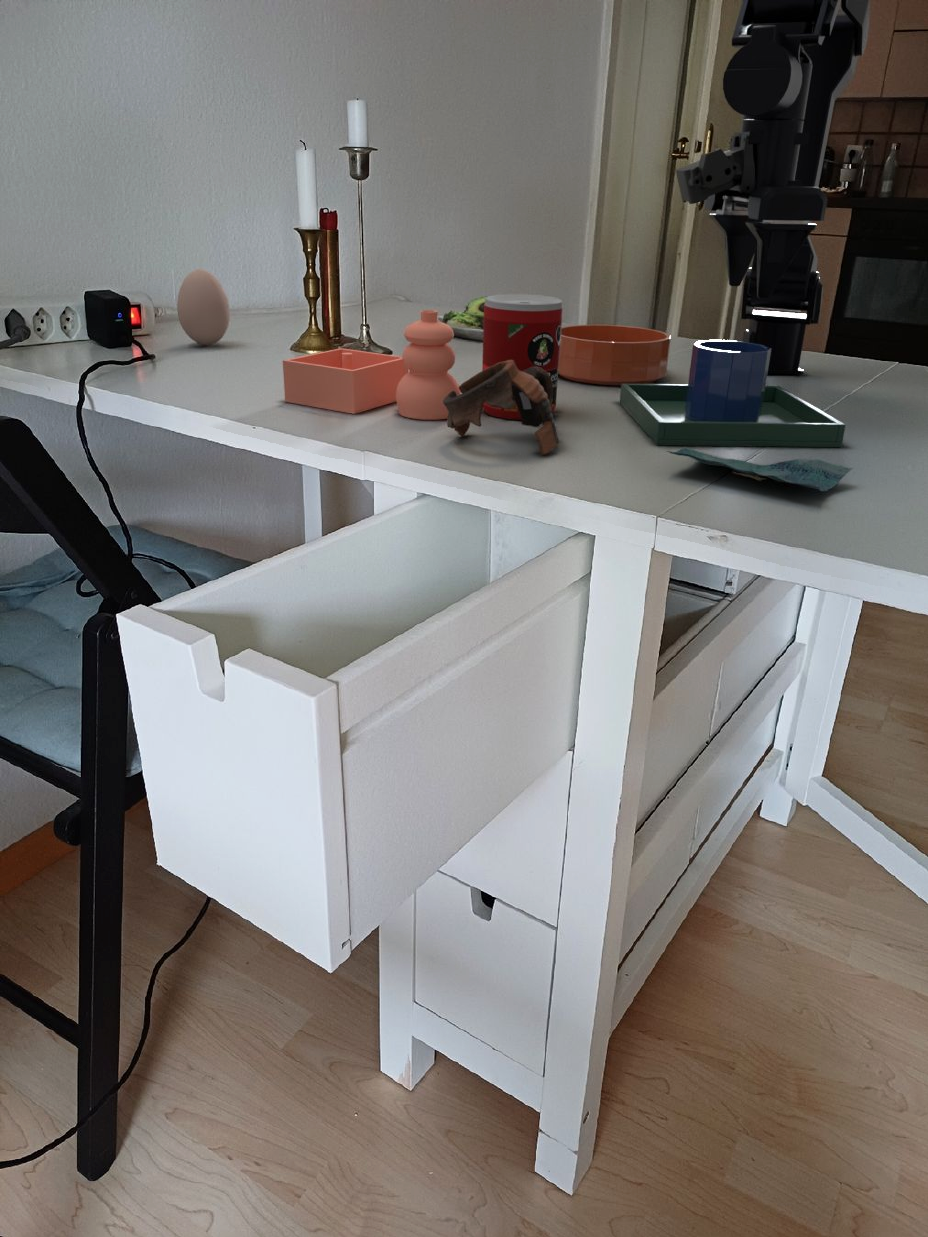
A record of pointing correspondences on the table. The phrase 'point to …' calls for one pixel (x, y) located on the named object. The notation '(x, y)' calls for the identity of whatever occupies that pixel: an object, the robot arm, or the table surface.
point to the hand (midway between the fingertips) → (748, 291)
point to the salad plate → (467, 320)
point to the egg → (203, 307)
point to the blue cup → (727, 381)
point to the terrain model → (779, 469)
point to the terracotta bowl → (613, 354)
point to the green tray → (778, 424)
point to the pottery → (379, 375)
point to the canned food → (522, 338)
